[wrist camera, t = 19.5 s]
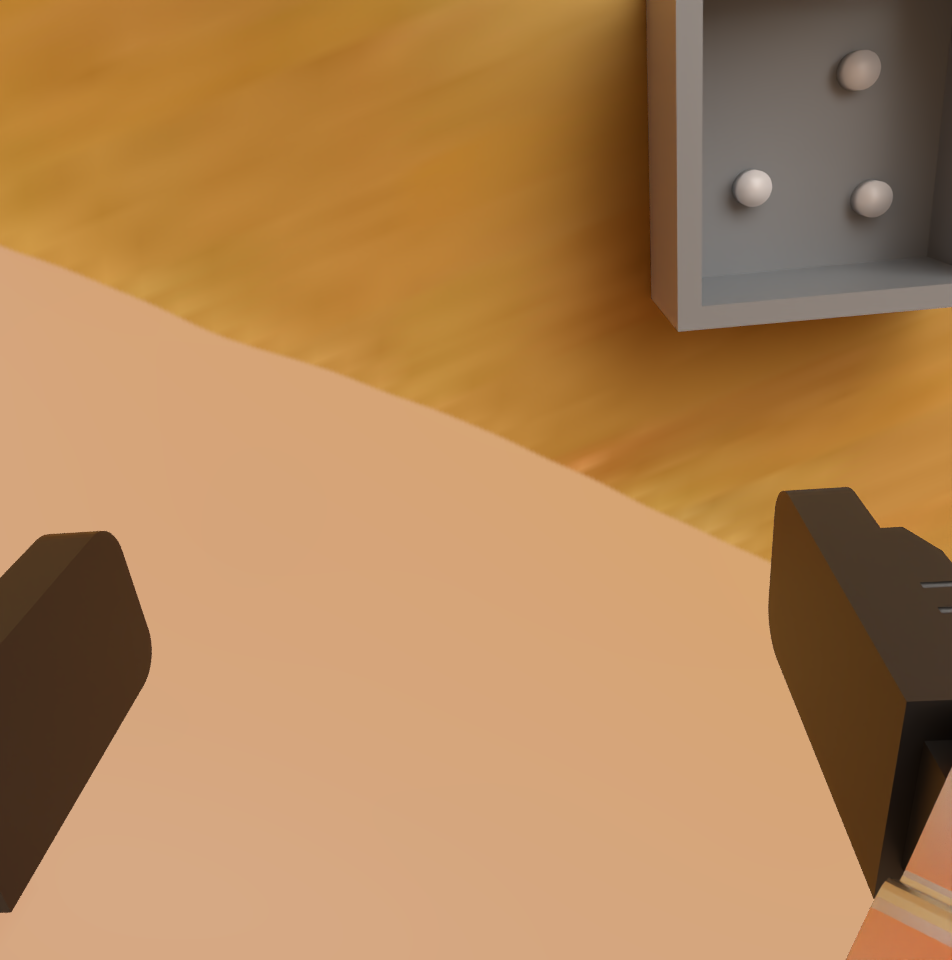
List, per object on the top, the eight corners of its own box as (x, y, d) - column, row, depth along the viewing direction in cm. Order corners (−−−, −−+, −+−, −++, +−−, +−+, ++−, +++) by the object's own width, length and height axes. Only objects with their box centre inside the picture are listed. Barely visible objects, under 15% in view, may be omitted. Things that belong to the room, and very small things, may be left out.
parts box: (645, -19, 38) (675, -44, 32) (972, -56, 37) (1071, -90, 31) (651, 298, 44) (677, 331, 37) (936, 271, 43) (1013, 301, 36)
